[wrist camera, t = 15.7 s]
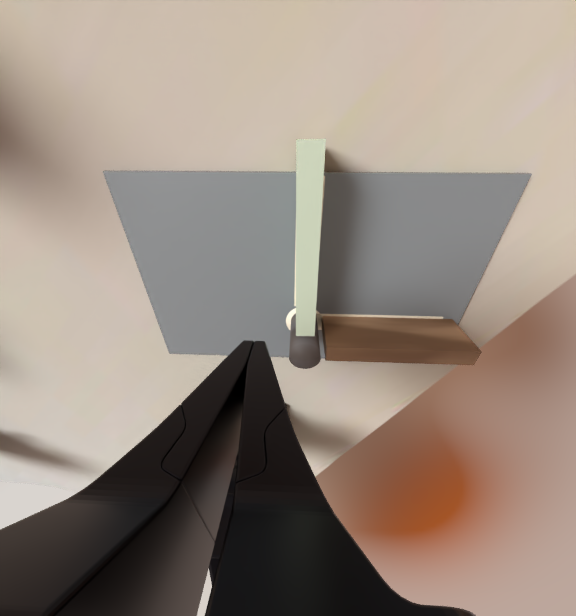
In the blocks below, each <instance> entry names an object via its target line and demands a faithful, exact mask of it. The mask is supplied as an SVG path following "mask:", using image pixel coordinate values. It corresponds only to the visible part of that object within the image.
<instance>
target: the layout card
mask: <svg viewBox="0 0 576 616" xmlns="http://www.w3.org/2000/svg"><path fill="white" fill-rule="evenodd" d="M103 173H104V176H105V179H106V182H107V184H108V187H109V190H110V192H111V195H112V198H113V201H114V203H115V206H116V209H117V212H118V214H119V217H120V220H121V223H122V225H123V228H124V231H125V233H126V236H127V239H128V242H129V244H130V247H131V250H132V253H133V255H134V258H135V261H136V264H137V266H138V269H139V272H140V274H141V277H142V280H143V283H144V285H145V288H146V291H147V294H148V296H149V299H150V302H151V304H152V307H153V310H154V313H155V315H156V318H157V321H158V324H159V326H160V329H161V332H162V335H163V337H164V340H165V343H166V345H167V348H168V351H169V354H199V355H229V354H230V353H231V352H232V351H233V350H234V349H235V348H236V347H237V346H238V345H239V344H240V343H241V342H242V341H244V340H252V341H254V342H255V341H265V342H266V345H267V349H268V352H269V355H270V357H289V350H290V330H291V318H292V316H293V315H294V314H295V313H296V172H236V171H103ZM530 176H531V174H530V173H404V172H324V180H323V197H322V215H321V232H320V250H319V267H318V285H317V302H316V318H317V325H318V335H319V345H320V355H321V358H325V353H324V344H323V336H322V318H323V316H346V317H386V318H426V319H453V321H454V322H455V323H456V324H457V325H458V324H459V322H460V320H461V318H462V316H463V314H464V311H465V309H466V307H467V305H468V303H469V301H470V299H471V297H472V295H473V293H474V291H475V289H476V287H477V285H478V283H479V281H480V279H481V277H482V275H483V273H484V271H485V269H486V266H487V264H488V262H489V260H490V258H491V256H492V254H493V252H494V250H495V248H496V246H497V244H498V242H499V240H500V238H501V236H502V234H503V232H504V230H505V228H506V226H507V224H508V221H509V219H510V217H511V215H512V213H513V211H514V209H515V207H516V205H517V203H518V201H519V199H520V197H521V195H522V193H523V191H524V189H525V187H526V185H527V183H528V181H529V179H530Z"/></svg>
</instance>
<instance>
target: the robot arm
mask: <svg viewBox="0 0 576 616" xmlns="http://www.w3.org/2000/svg"><path fill="white" fill-rule="evenodd" d="M181 405H182V406H181ZM181 405H179V406H178V407H177V408H176V409H175V410H174V411H173V412H172V413H171V414H170V415H169V416H168V417H167V418H166V419H165V420H164V421H163V422H162V423H161V424H160V425H159V426H158V427H157V428H155V429H154V430H153V431H152V432H151V433H150V434H149V435H148V436H146V437H145V438H144V439H143V440H142V441H141V442H140V443H138V444H137V445H136V446H135V447H134V448H133V449H131V450H130V451H129V452H128V453H127V454H126V455H124V456H123V457H122V458H121V459H120V460H119V461H117V462H116V463H115V464H114V465H113V466H112V467H110V468H109V469H108V470H107V471H106V472H105V473H103V474H102V475H101V476H100V477H99V478H97V479H96V480H95V481H94V482H92V483H91V484H90V485H88V486H87V487H86V488H84V489H83V490H81V491H80V492H78V493H77V494H75V495H73V496H71V497H70V498H68V499H66V500H64V501H62V502H60V503H58V504H55V505H53V506H51V507H49V508H47V509H45V510H42V511H40V512H38V513H36V514H34V515H32V516H29V517H27V518H25V519H23V520H20V521H18V522H16V523H14V524H12V525H9V526H7V527H5V528H3V529H1V530H0V616H196V615H197V611H198V608H199V603H200V600H201V596H202V592H203V588H204V584H205V580H206V576H207V571H208V568H209V571H210V577H211V581H212V589H211V594H210V597H209V601H208V605H207V609H206V613H205V616H475V615H474V614H473V613H472V612H470V611H467V610H464V609H459V608H454V607H446V606H431V605H420V604H416V603H412V602H410V601H408V600H406V599H405V598H403V597H401V596H400V595H399V594H397V593H396V592H395V591H394V590H392V589H391V588H390V586H389V585H388V584H387V583H386V582H385V581H384V580H383V578H382V577H381V576H380V574H379V573H378V572H377V570H376V569H375V568H374V566H373V565H372V564H371V562H370V561H369V560H368V558H367V557H366V555H365V554H364V553H363V551H362V550H361V549H360V547H359V546H358V545H357V543H356V542H355V541H354V539H353V538H352V537H351V535H350V534H349V533H348V531H347V530H346V528H345V527H344V526H343V524H342V523H341V522H340V520H339V519H338V518H337V516H336V515H335V514H334V512H333V510H332V508H331V507H330V505H329V503H328V502H327V500H326V498H325V496H324V494H323V492H322V490H321V488H320V486H319V484H318V482H317V480H316V478H315V476H314V474H313V472H312V470H311V467H310V465H309V463H308V461H307V459H306V457H305V455H304V453H303V451H302V449H301V446H300V444H299V442H298V439H297V437H296V435H295V432H294V430H293V427H292V424H291V421H290V418H289V415H288V412H287V406H286V405H285V403H284V400H283V396H282V393H281V390H280V387H279V384H278V380H277V377H276V374H275V371H274V368H273V365H272V361H271V358H270V355H269V352H268V349H267V345H266V342H265V341H255V342H254V341H252V340H244V341H242V342H241V343H240V344H239V345H238V346H237V347H236V348H235V349H234V350H233V351H232V352H231V353H230V354H229V355H228V356H227V357H226V358H225V359H224V361H223V362H222V363H221V364H220V365H219V366H218V367H217V368H216V369H215V370H214V371H213V372H212V373H211V374H210V375H209V376H208V377H207V378H206V379H205V380H204V381H203V382H202V383H201V384H200V385H199V386H198V387H197V388H196V389H195V390H194V391H193V392H192V393H191V394H190V395H189V396H188V397H187V398H186V399H185V400H184V401H183V402H182V403H181Z"/></svg>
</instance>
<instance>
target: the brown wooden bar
mask: <svg viewBox="0 0 576 616" xmlns="http://www.w3.org/2000/svg"><path fill="white" fill-rule="evenodd" d="M322 336H323V344H324V353H325V360H328V361H361V362H393V363H425V364H458V365H474V364H475V362H476V360H477V359H478V357H479V355H480V354H481V351H480V350H479V348H478V347H477V346H476V345H475V344H474V343H473V342H472V341H471V340H470V338H469V337H468V336H467V335H466V334H465V333H464V332H463V331H462V329H461V328H460V327H459V326H458V325H457V324H456V323H455V322H454V321H453V319H426V318H386V317H346V316H323V318H322ZM320 359H321V355H320V345H319V335H318V325H317V318H316V320H315V336H296V313H295V314H294V315H293V316H292V318H291V330H290V350H289V360H290V362H291V363H292V364H293V365H294V366H296V367H298V368H303V369H307V368H312V367H314V366H316V365H317V364H318V363H319V362H320Z"/></svg>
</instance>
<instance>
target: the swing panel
mask: <svg viewBox="0 0 576 616" xmlns="http://www.w3.org/2000/svg"><path fill="white" fill-rule="evenodd" d="M325 144H326V139H296V336H315V320H316V302H317V285H318V267H319V250H320V232H321V215H322V197H323V180H324V162H325Z"/></svg>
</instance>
